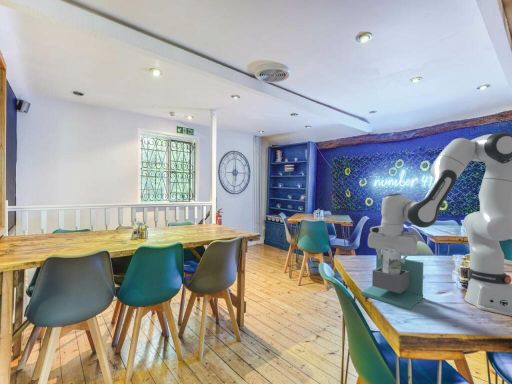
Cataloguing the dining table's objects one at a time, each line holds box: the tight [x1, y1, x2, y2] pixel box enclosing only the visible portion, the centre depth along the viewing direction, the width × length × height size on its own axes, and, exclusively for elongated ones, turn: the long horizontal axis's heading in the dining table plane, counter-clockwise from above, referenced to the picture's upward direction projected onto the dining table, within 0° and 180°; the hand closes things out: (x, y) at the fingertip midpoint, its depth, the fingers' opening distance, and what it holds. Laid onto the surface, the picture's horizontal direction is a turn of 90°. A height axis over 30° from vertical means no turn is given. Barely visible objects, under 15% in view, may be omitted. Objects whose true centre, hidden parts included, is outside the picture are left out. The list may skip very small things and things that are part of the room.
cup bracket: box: [361, 253, 424, 311], centre depth 120 cm, size 20×18×16 cm
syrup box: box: [381, 247, 402, 276], centre depth 119 cm, size 6×6×14 cm
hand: (391, 260), depth 119 cm, fingers closed on syrup box, 8 cm apart
